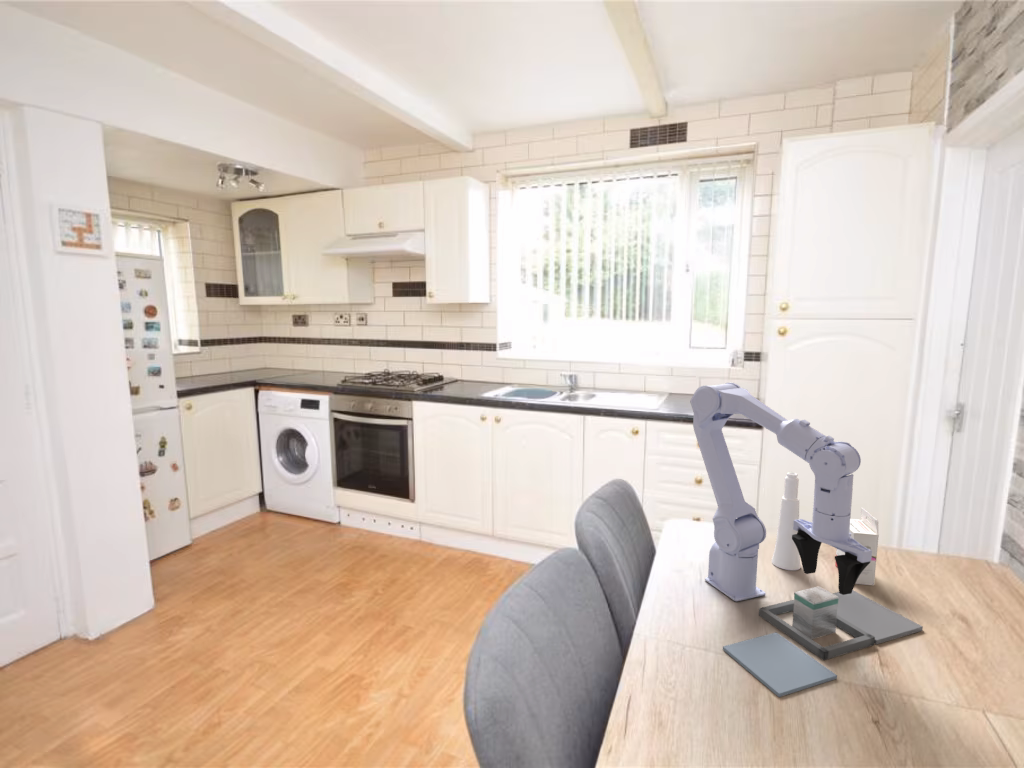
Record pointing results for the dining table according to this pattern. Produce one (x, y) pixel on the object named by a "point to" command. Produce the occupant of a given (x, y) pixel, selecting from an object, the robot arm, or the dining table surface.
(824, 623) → the block
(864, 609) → the hinged gray frame
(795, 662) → the pad
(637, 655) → the dining table surface
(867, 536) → the ink cartridge box
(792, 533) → the cosmetic bottle
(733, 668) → the dining table surface
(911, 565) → the dining table surface
